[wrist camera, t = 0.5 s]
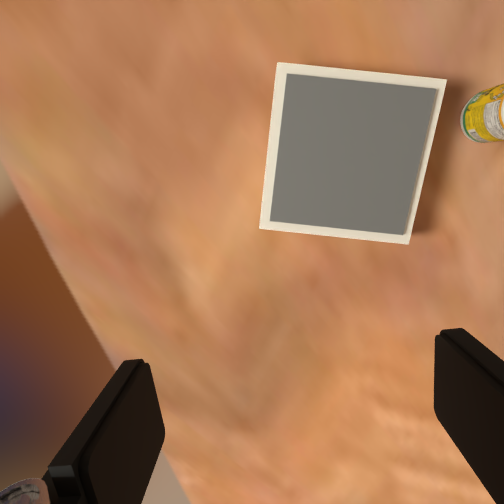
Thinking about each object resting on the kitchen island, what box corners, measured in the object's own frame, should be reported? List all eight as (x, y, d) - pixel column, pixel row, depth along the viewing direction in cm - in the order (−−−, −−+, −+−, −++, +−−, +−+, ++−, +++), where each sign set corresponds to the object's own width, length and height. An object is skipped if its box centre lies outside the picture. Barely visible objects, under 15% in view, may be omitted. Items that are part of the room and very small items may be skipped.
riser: (275, 75, 35) (277, 60, 30) (424, 90, 35) (450, 77, 30) (259, 221, 39) (259, 229, 34) (392, 235, 39) (410, 245, 34)
